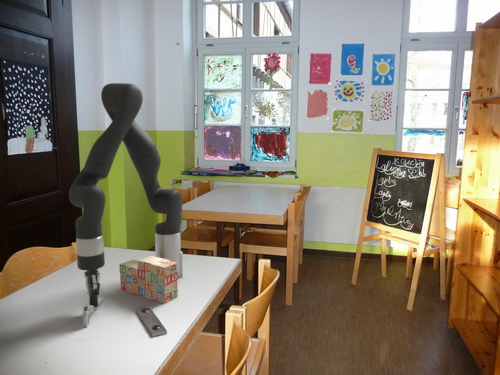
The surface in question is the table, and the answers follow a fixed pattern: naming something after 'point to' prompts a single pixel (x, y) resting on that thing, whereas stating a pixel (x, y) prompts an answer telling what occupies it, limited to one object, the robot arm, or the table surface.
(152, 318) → the bolt strip
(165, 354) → the table surface
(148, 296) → the stack of blocks
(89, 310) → the caliper
